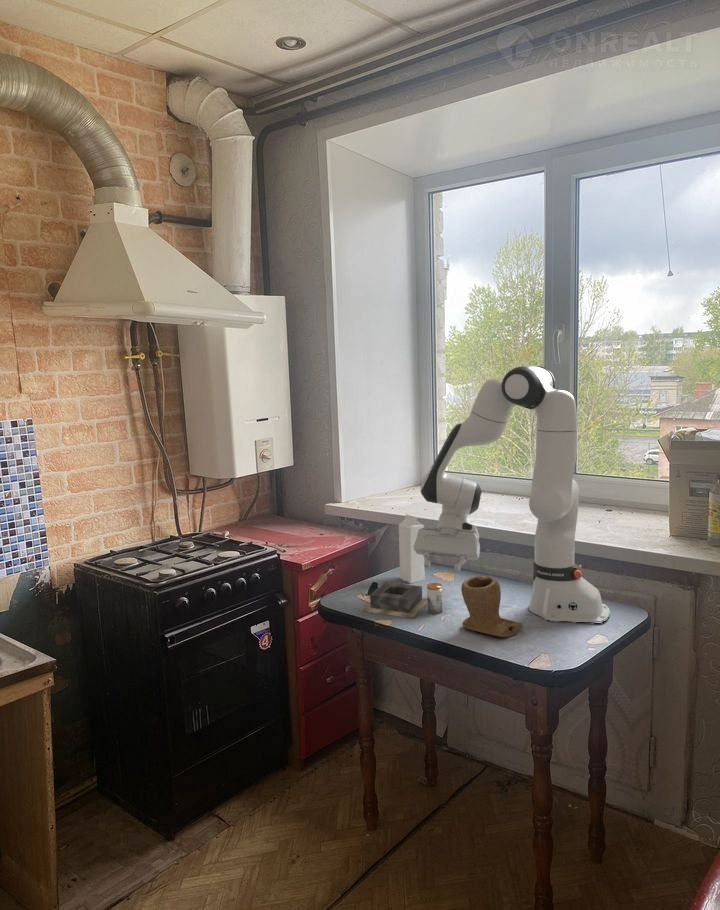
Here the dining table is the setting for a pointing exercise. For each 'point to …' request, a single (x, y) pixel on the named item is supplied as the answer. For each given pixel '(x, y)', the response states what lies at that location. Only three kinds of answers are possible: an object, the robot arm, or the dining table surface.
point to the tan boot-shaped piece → (486, 607)
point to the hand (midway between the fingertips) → (441, 568)
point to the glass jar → (434, 598)
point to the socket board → (397, 600)
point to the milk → (410, 551)
